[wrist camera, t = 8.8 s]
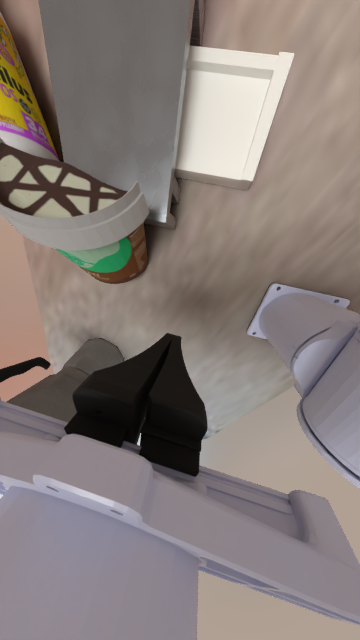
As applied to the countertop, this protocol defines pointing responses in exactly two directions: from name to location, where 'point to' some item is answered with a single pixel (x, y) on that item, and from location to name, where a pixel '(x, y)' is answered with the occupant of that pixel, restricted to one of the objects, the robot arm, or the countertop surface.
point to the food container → (75, 214)
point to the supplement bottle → (20, 104)
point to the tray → (227, 113)
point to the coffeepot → (62, 379)
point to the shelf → (122, 89)
